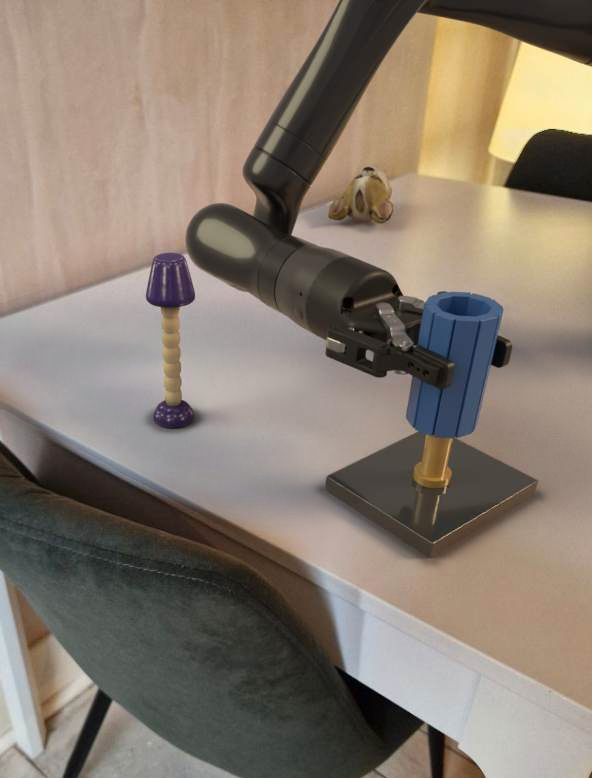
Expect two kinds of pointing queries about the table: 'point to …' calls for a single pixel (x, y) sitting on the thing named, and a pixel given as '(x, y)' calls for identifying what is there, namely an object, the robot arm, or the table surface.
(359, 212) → the ceramic sculpture
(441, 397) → the sleeve
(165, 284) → the toy lamp
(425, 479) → the yellow peg on plate
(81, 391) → the table surface
